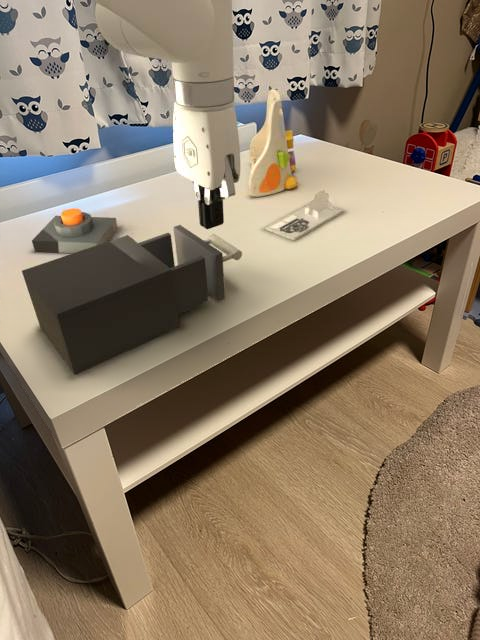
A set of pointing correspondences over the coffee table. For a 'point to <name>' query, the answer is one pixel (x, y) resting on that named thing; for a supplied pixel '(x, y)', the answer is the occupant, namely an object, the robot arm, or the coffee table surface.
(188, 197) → the coffee table surface
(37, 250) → the control block
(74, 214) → the button
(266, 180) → the shape sorter
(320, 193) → the white stand base
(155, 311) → the drawer box
